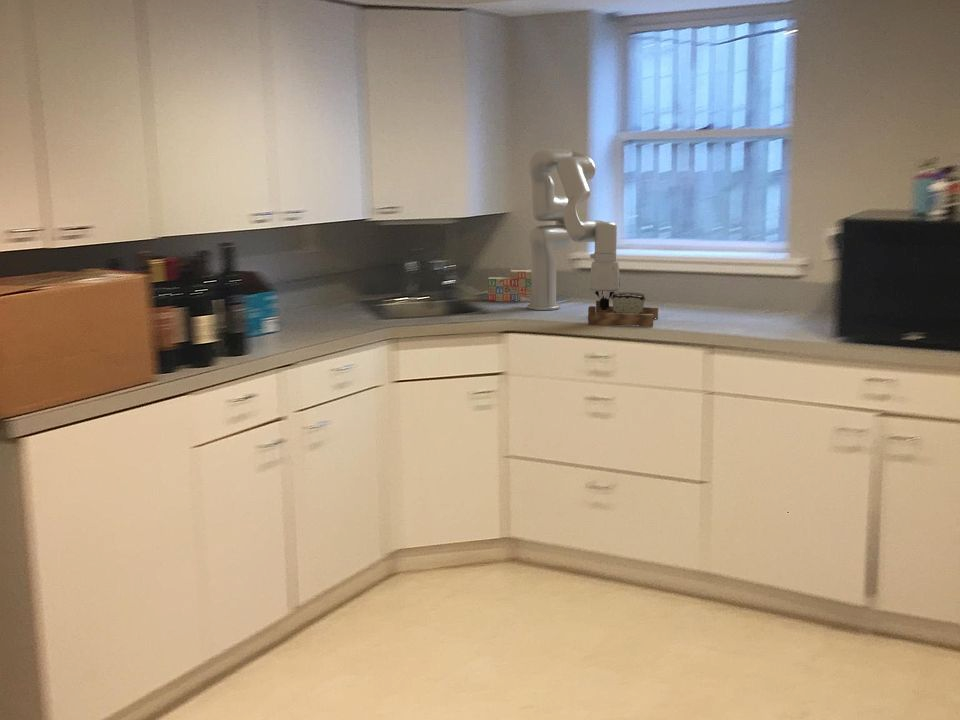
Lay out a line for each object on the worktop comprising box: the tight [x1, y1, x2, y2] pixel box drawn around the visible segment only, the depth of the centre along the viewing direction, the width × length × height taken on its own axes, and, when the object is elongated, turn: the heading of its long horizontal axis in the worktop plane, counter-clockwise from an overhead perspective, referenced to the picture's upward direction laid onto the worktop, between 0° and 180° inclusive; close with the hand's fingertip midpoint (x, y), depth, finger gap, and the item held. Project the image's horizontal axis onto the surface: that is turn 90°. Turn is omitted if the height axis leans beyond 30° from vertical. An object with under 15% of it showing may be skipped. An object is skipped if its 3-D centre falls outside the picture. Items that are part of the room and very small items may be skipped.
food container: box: [610, 291, 647, 314], centre depth 349 cm, size 12×6×10 cm, turn 72°
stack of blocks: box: [487, 269, 531, 302], centre depth 405 cm, size 21×6×12 cm, turn 86°
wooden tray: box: [587, 299, 659, 327], centre depth 350 cm, size 22×20×6 cm
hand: (604, 309), depth 351 cm, fingers closed
